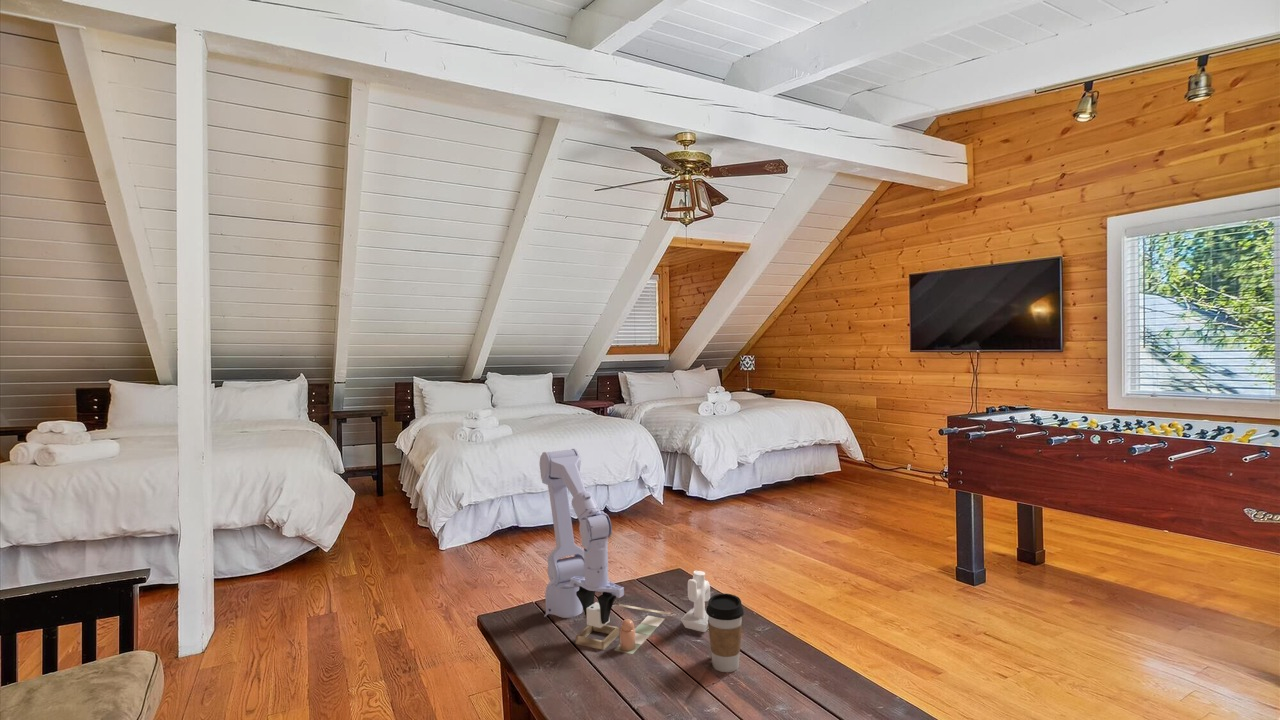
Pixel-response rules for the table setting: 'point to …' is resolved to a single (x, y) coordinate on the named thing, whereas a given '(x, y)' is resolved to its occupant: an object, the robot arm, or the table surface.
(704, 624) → the figurine
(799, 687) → the table surface
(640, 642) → the game board
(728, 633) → the coffee cup
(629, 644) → the pawn
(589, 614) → the die
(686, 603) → the table surface
